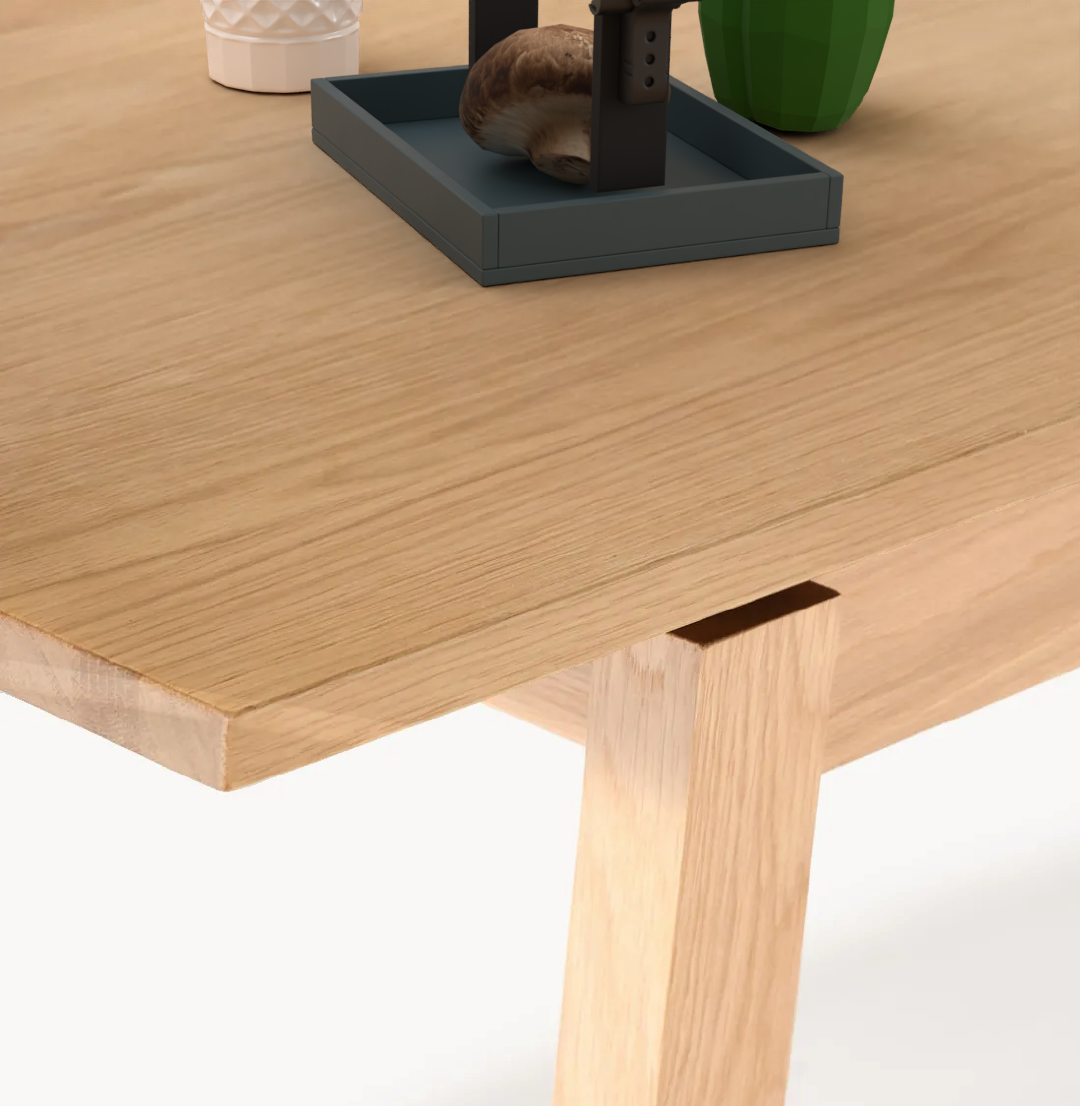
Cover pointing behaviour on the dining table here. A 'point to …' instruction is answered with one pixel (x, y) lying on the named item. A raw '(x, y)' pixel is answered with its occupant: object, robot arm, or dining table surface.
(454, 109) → the tray
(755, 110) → the bell pepper
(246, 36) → the white cup
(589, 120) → the mushroom
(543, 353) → the dining table surface
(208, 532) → the dining table surface
